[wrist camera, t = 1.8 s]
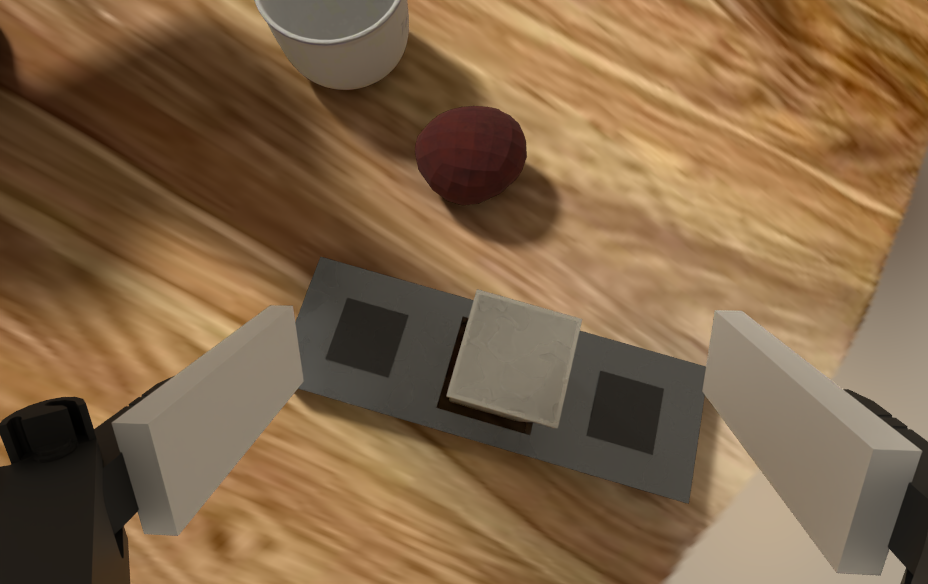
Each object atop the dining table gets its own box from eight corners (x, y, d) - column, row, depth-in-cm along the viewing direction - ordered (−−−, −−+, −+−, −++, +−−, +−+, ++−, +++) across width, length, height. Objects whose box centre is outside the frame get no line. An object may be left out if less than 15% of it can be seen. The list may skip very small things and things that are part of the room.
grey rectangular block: (445, 403, 34) (446, 395, 23) (466, 331, 36) (477, 289, 24) (518, 425, 34) (557, 428, 22) (536, 351, 35) (582, 319, 24)
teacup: (435, 76, 41) (433, -4, 33) (321, 131, 39) (291, 61, 32) (358, -38, 44) (339, -135, 36) (247, 9, 42) (203, -83, 34)
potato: (511, 227, 38) (523, 192, 32) (407, 207, 38) (401, 168, 32) (525, 145, 40) (539, 99, 34) (427, 126, 40) (424, 76, 34)
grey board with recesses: (284, 383, 34) (272, 380, 32) (328, 267, 36) (320, 256, 34) (670, 497, 33) (689, 504, 31) (690, 370, 35) (709, 367, 33)
